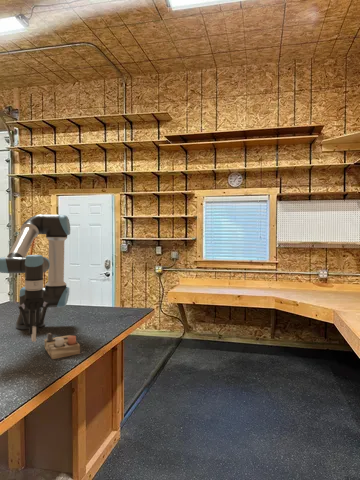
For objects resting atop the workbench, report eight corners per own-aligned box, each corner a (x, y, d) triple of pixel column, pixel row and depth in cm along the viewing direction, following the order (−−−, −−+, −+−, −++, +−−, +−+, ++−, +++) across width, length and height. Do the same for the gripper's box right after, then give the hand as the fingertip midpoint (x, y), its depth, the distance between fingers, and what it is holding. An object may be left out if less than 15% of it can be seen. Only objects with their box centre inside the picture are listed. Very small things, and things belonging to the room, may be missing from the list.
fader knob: (46, 339, 148) (46, 333, 148) (51, 338, 150) (51, 332, 149) (48, 341, 146) (48, 334, 146) (52, 340, 147) (52, 334, 147)
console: (44, 347, 150) (44, 338, 150) (70, 342, 157) (70, 334, 157) (51, 359, 137) (52, 349, 137) (79, 353, 144) (79, 344, 144)
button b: (54, 345, 143) (54, 338, 143) (62, 344, 145) (62, 337, 145) (56, 348, 140) (56, 340, 140) (64, 346, 142) (64, 339, 142)
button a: (66, 343, 146) (66, 336, 146) (74, 341, 148) (74, 335, 148) (68, 345, 143) (69, 338, 143) (76, 344, 145) (77, 337, 145)
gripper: (19, 291, 136) (18, 346, 137) (51, 289, 144) (50, 340, 144) (16, 289, 143) (16, 340, 143) (47, 286, 150) (47, 335, 151)
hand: (33, 340), depth 144 cm, fingers closed
